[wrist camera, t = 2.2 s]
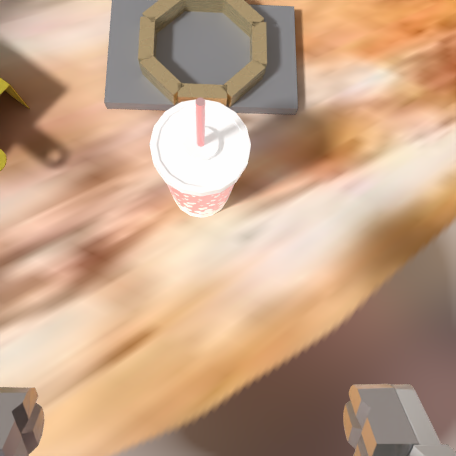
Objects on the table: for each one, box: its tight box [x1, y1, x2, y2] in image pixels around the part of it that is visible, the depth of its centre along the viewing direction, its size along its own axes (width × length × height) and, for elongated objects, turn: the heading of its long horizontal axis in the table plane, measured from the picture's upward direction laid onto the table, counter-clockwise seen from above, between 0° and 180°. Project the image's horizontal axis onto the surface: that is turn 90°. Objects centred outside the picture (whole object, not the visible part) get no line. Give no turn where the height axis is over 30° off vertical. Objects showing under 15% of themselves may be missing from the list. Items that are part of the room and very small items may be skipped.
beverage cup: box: [150, 97, 251, 218], centre depth 27 cm, size 6×6×14 cm
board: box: [104, 0, 298, 115], centre depth 36 cm, size 16×10×1 cm, turn 90°
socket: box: [138, 0, 267, 107], centre depth 35 cm, size 10×10×2 cm
